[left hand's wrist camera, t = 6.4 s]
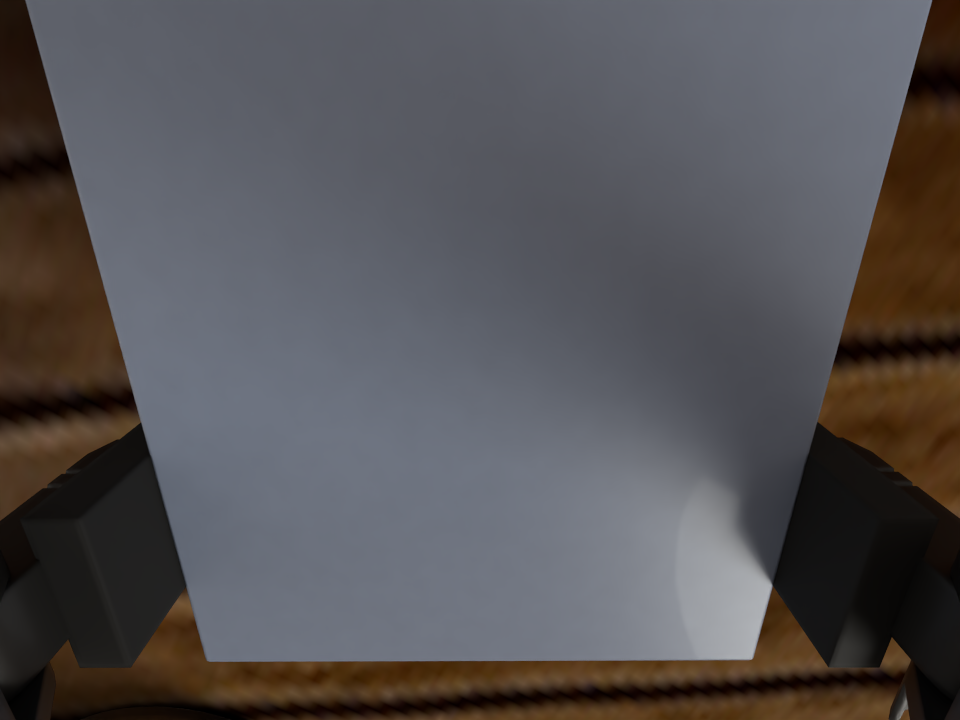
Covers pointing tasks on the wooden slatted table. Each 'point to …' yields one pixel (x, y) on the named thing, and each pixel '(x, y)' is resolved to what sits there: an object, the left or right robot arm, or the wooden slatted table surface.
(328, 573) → the cabinet
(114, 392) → the wooden slatted table surface
